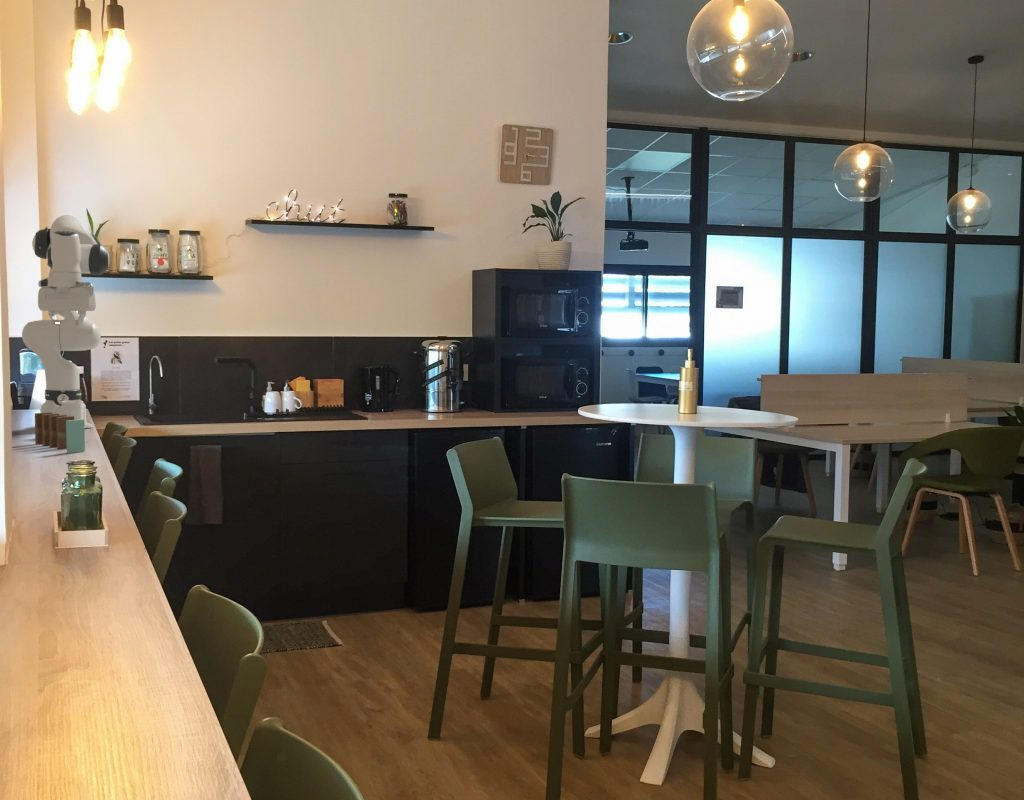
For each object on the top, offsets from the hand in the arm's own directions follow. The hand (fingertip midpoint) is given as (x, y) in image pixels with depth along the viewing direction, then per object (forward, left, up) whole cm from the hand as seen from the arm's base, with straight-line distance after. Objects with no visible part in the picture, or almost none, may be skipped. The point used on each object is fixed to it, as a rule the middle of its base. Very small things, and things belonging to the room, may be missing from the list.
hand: (67, 325), depth 325 cm
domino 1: (-5, -8, -39) cm, 40 cm away
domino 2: (-1, -6, -39) cm, 39 cm away
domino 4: (+7, -1, -39) cm, 39 cm away
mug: (-21, -1, -39) cm, 44 cm away
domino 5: (+17, +2, -39) cm, 42 cm away
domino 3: (+3, -3, -39) cm, 39 cm away
